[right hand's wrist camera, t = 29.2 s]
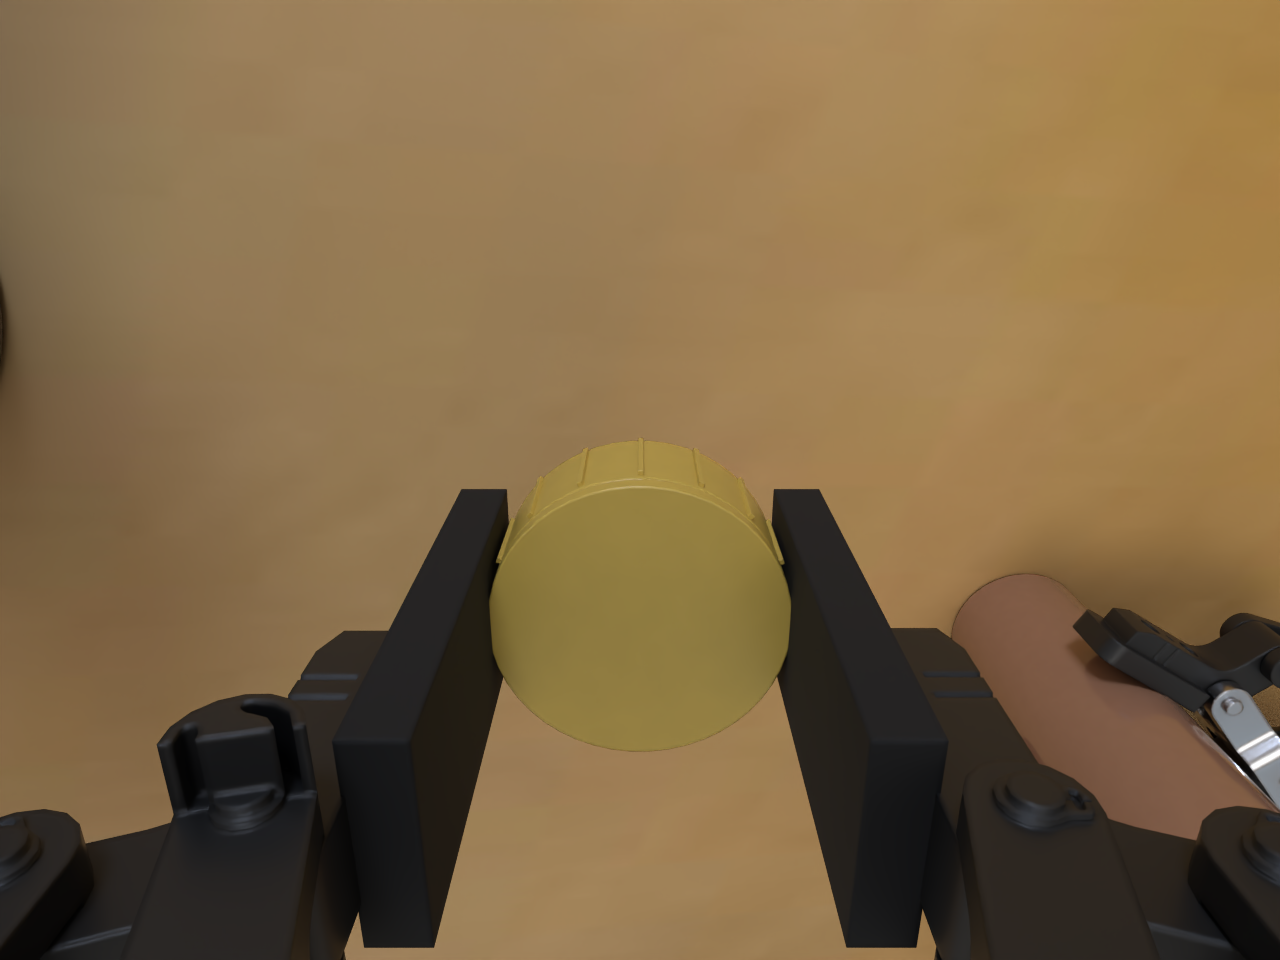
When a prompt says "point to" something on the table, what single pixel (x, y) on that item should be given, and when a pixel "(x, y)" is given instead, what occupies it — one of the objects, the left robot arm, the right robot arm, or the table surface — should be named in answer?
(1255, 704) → the left robot arm
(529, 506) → the cap
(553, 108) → the table surface
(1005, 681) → the bottle
